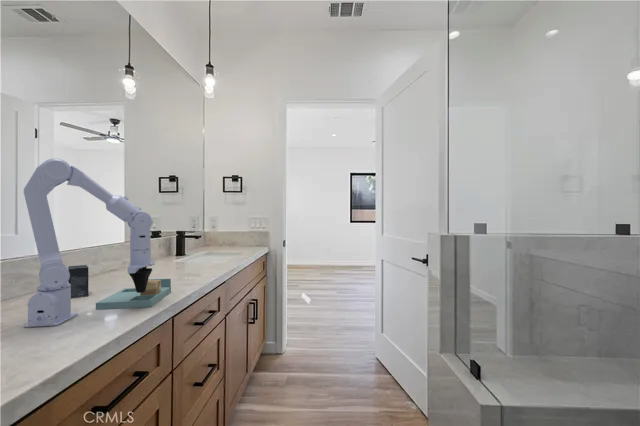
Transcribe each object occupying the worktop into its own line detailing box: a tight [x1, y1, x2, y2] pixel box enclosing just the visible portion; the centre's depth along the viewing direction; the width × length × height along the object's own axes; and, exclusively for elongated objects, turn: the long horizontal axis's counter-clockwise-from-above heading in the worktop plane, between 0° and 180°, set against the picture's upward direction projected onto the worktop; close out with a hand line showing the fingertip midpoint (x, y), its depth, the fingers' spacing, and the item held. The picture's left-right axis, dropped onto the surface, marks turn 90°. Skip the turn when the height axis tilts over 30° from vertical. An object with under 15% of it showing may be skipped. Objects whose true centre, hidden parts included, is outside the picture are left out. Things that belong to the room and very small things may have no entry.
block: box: [140, 280, 161, 295], centre depth 111 cm, size 5×5×4 cm
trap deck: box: [95, 278, 172, 311], centre depth 110 cm, size 20×16×5 cm
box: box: [67, 264, 89, 299], centre depth 118 cm, size 8×6×11 cm
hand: (141, 292), depth 104 cm, fingers closed
